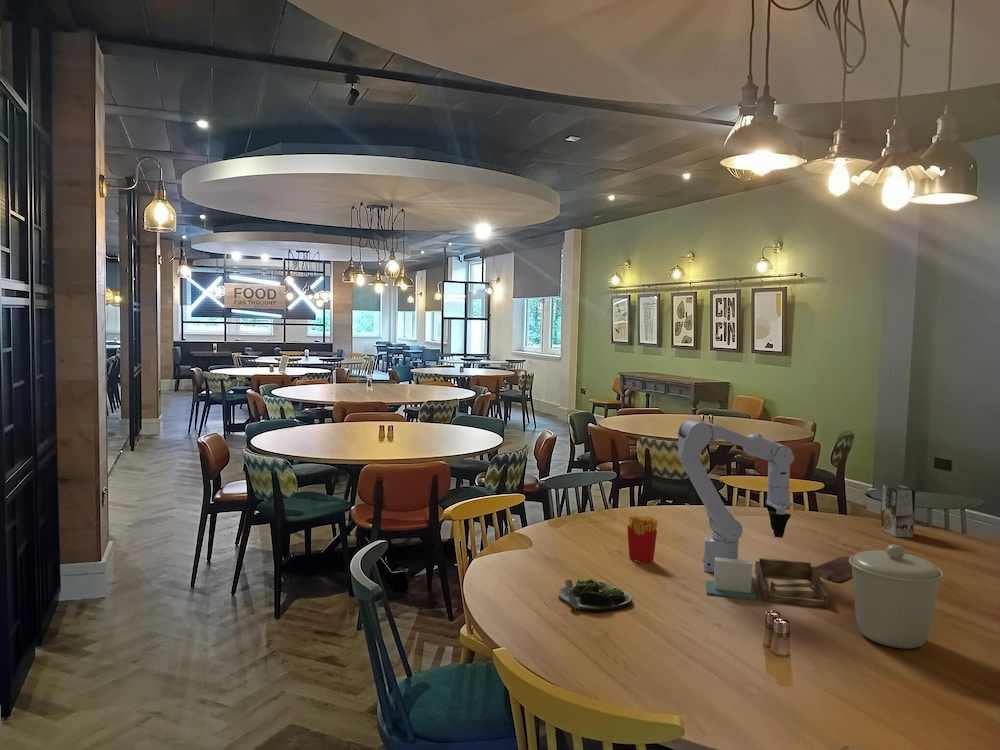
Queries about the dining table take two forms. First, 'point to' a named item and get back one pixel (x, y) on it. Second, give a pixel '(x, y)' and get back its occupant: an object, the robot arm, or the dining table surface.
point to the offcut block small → (794, 592)
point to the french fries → (642, 538)
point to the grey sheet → (733, 575)
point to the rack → (795, 571)
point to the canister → (894, 596)
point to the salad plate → (594, 596)
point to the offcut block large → (790, 584)
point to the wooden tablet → (835, 570)
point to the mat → (729, 592)
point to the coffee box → (898, 510)
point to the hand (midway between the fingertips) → (777, 533)
